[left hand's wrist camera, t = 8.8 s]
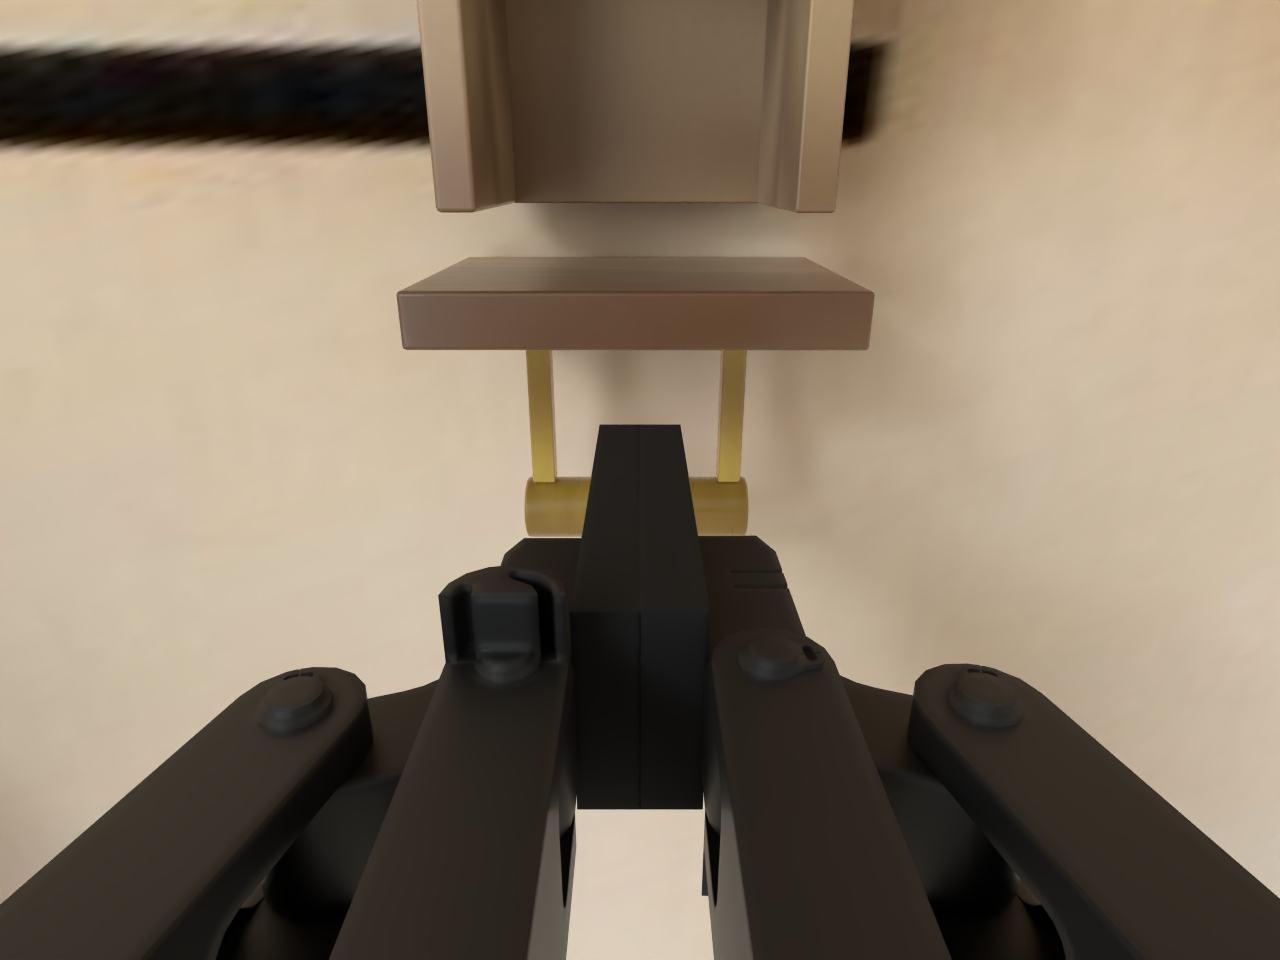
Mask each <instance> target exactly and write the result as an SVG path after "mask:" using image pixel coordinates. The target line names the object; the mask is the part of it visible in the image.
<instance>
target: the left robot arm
mask: <svg viewBox="0 0 1280 960" xmlns="http://www.w3.org/2000/svg"><path fill="white" fill-rule="evenodd" d="M438 596H439V605H440V614H441V623H442V632H443V641H444V650H445V659H446V663H445V666H444V668H443V671H442V674H441V676H440V679H438V680H436V681H434V682H431V683H429V684H427V685H425V686H421V687H418V688H414V689H411V690H407V691H403V692H398V693H393V694H389V695H384V696H379V697H374V698H369V699H367V693H366V687H365V684H364V683H363V682H362V681H361V680H360V679H359V678H358V677H357V676H356V675H355V674H354V673H351V672H348V671H345V670H342V669H339V668H326V667H311V668H304V669H300V670H298V669H297V670H293V671H289V672H285V673H283V674H281V675H278V676H276V677H273V678H271V679H268V680H266V681H263V682H261V683H259V684H258V685H256V686H255V687H253V688H252V689H250V690H249V691H247V692H246V693H244V694H243V695H241V696H240V697H238V698H237V699H236V700H235V701H234V702H233V703H232V704H230V705H229V706H228V707H227V708H226V709H225V710H224V711H222V712H221V713H220V714H219V715H218V716H217V717H216V718H214V719H213V720H212V721H211V722H210V723H209V724H207V725H206V726H205V727H204V728H203V729H202V730H201V731H199V732H198V733H197V734H196V735H195V736H194V737H193V738H191V739H190V740H189V741H188V742H187V743H186V744H184V745H183V746H182V747H181V748H180V749H179V750H178V751H176V752H175V753H174V754H173V755H172V756H171V757H170V758H168V759H167V760H166V761H165V762H164V763H163V764H161V765H160V766H159V767H158V768H157V769H156V770H155V771H153V772H152V773H151V774H150V775H149V776H148V777H147V778H145V779H144V780H143V781H142V782H141V783H140V784H138V785H137V786H136V787H135V788H134V789H133V790H132V791H130V792H129V793H128V794H127V795H126V796H125V797H124V798H122V799H121V800H120V801H119V802H118V803H117V804H116V805H114V806H113V807H112V808H111V809H110V810H109V811H107V812H106V813H105V814H104V815H103V816H102V817H101V818H99V819H98V820H97V821H96V822H95V823H94V824H93V825H91V826H90V827H89V828H88V829H87V830H86V831H84V832H83V833H82V834H81V835H80V836H79V837H78V838H76V839H75V840H74V841H73V842H72V843H71V844H70V845H68V846H67V847H66V848H65V849H64V850H63V851H61V852H60V853H59V854H58V855H57V856H56V857H55V858H53V859H52V860H51V861H50V862H49V863H48V864H47V865H45V866H44V867H43V868H42V869H41V870H40V871H38V872H37V873H36V874H35V875H34V876H33V877H32V878H30V879H29V880H28V881H27V882H26V883H25V884H24V885H22V886H21V887H20V888H19V889H18V890H17V891H16V892H14V893H13V894H12V895H11V896H10V897H9V898H7V899H6V900H5V901H4V902H3V903H2V904H1V905H0V960H566V953H567V942H568V931H569V920H570V909H571V898H572V887H573V876H574V865H575V854H576V829H575V806H576V796H577V809H703V792H704V802H705V829H704V853H703V878H702V896H708V897H709V908H710V919H711V930H712V941H713V951H714V960H1280V898H1278V897H1277V896H1276V895H1275V894H1274V893H1273V892H1271V891H1270V890H1269V889H1268V888H1267V887H1266V886H1264V885H1263V884H1262V883H1261V882H1260V881H1259V880H1257V879H1256V878H1255V877H1254V876H1253V875H1252V874H1251V873H1249V872H1248V871H1247V870H1246V869H1245V868H1244V867H1242V866H1241V865H1240V864H1239V863H1238V862H1237V861H1235V860H1234V859H1233V858H1232V857H1231V856H1230V855H1229V854H1227V853H1226V852H1225V851H1224V850H1223V849H1222V848H1220V847H1219V846H1218V845H1217V844H1216V843H1215V842H1213V841H1212V840H1211V839H1210V838H1209V837H1208V836H1206V835H1205V834H1204V833H1203V832H1202V831H1201V830H1200V829H1198V828H1197V827H1196V826H1195V825H1194V824H1193V823H1191V822H1190V821H1189V820H1188V819H1187V818H1186V817H1184V816H1183V815H1182V814H1181V813H1180V812H1179V811H1178V810H1176V809H1175V808H1174V807H1173V806H1172V805H1171V804H1169V803H1168V802H1167V801H1166V800H1165V799H1164V798H1162V797H1161V796H1160V795H1159V794H1158V793H1157V792H1155V791H1154V790H1153V789H1152V788H1151V787H1150V786H1149V785H1147V784H1146V783H1145V782H1144V781H1143V780H1142V779H1140V778H1139V777H1138V776H1137V775H1136V774H1135V773H1133V772H1132V771H1131V770H1130V769H1129V768H1128V767H1127V766H1125V765H1124V764H1123V763H1122V762H1121V761H1120V760H1118V759H1117V758H1116V757H1115V756H1114V755H1113V754H1111V753H1110V752H1109V751H1108V750H1107V749H1106V748H1104V747H1103V746H1102V745H1101V744H1100V743H1099V742H1098V741H1096V740H1095V739H1094V738H1093V737H1092V736H1091V735H1089V734H1088V733H1087V732H1086V731H1085V730H1084V729H1082V728H1081V727H1080V726H1079V725H1078V724H1077V723H1076V722H1074V721H1073V720H1072V719H1071V718H1070V717H1069V716H1067V715H1066V714H1065V713H1064V712H1063V711H1062V710H1060V709H1059V708H1058V707H1057V706H1056V705H1055V704H1053V703H1052V702H1051V701H1050V700H1049V699H1048V698H1047V697H1045V696H1044V695H1043V694H1042V693H1041V692H1039V691H1038V690H1036V689H1035V688H1033V687H1031V686H1030V685H1028V684H1027V683H1025V682H1024V681H1022V680H1021V679H1019V678H1017V677H1014V676H1012V675H1009V674H1006V673H1004V672H1001V671H999V670H997V669H994V668H990V667H986V666H979V665H972V664H944V665H941V666H938V667H935V668H932V669H929V670H926V671H925V672H924V673H923V674H922V675H921V676H920V677H919V678H918V679H917V680H916V681H915V687H914V693H913V695H908V694H903V693H898V692H893V691H888V690H883V689H878V688H874V687H870V686H867V685H863V684H860V683H856V682H854V681H852V680H849V679H847V678H845V677H842V676H840V675H839V672H838V670H837V667H836V665H835V662H834V661H833V659H832V658H831V656H830V655H829V654H828V652H827V651H826V650H825V648H824V647H822V646H820V645H819V644H817V643H816V642H814V641H813V640H811V639H810V638H808V637H806V635H805V632H804V630H803V627H802V624H801V621H800V618H799V616H798V613H797V610H796V607H795V605H794V602H793V599H792V596H791V593H790V591H789V589H787V582H786V580H785V577H784V574H783V573H782V568H781V566H780V563H779V560H778V557H777V555H776V552H775V551H774V550H773V549H772V548H771V547H769V546H768V545H767V544H766V543H764V542H763V541H762V540H761V539H759V538H758V537H757V536H698V532H697V526H696V519H695V513H694V507H693V501H692V495H691V488H690V482H689V476H688V470H687V464H686V457H685V451H684V445H683V439H682V433H681V426H680V425H600V426H599V433H598V439H597V445H596V451H595V457H594V464H593V470H592V476H591V482H590V488H589V495H588V501H587V507H586V513H585V519H584V526H583V532H582V538H524V539H523V540H521V541H520V542H519V543H518V544H516V545H515V546H514V547H513V548H512V549H510V550H509V551H508V552H507V553H505V555H504V558H503V560H502V563H501V566H497V567H488V568H484V569H481V570H477V571H474V572H470V573H467V574H465V575H463V576H461V577H459V578H458V579H456V580H454V581H452V582H450V583H449V584H448V585H447V586H446V587H445V588H444V590H443V591H442V592H441V593H440V594H439V595H438Z"/></svg>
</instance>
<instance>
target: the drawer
mask: <svg viewBox="0 0 1280 960" xmlns="http://www.w3.org/2000/svg"><path fill="white" fill-rule="evenodd" d="M417 7H418V18H419V29H420V39H421V50H422V61H423V72H424V82H425V93H426V104H427V115H428V126H429V136H430V147H431V158H432V169H433V179H434V190H435V201H436V208H437V210H438V211H439V212H476V211H480V210H485V209H489V208H493V207H498V206H502V205H506V204H511V203H760V204H765V205H769V206H773V207H777V208H781V209H785V210H789V211H793V212H797V213H832V212H834V211H835V207H836V195H837V184H838V173H839V162H840V151H841V140H842V129H843V118H844V107H845V96H846V85H847V74H848V63H849V52H850V41H851V29H852V18H853V7H854V0H417ZM874 296H875V295H874V293H873V292H871V291H869V290H867V289H866V288H864V287H862V286H860V285H858V284H856V283H854V282H852V281H850V280H848V279H846V278H844V277H842V276H840V275H838V274H836V273H834V272H832V271H830V270H828V269H826V268H824V267H822V266H820V265H818V264H816V263H814V262H812V261H810V260H808V259H806V258H728V257H469V258H467V259H465V260H463V261H460V262H458V263H456V264H454V265H452V266H450V267H448V268H446V269H444V270H442V271H440V272H438V273H436V274H434V275H432V276H430V277H428V278H426V279H424V280H422V281H420V282H418V283H415V284H413V285H411V286H409V287H407V288H405V289H403V290H401V291H399V292H397V303H398V312H399V321H400V329H401V338H402V346H403V348H404V349H406V350H526V359H527V377H528V395H529V413H530V431H531V449H532V467H533V477H530V478H529V479H528V481H527V485H526V492H525V523H526V530H527V533H528V535H529V536H531V537H582V532H583V526H584V519H585V513H586V507H587V501H588V495H589V488H590V482H591V477H557V457H556V433H555V410H554V386H553V363H552V350H721V365H720V390H719V415H718V439H717V464H716V475H717V477H689V482H690V488H691V495H692V501H693V507H694V513H695V519H696V526H697V532H698V536H744V535H745V533H746V530H747V524H748V491H747V484H746V481H745V479H744V478H743V477H740V467H741V448H742V429H743V411H744V392H745V373H746V354H747V350H866V349H868V347H869V341H870V332H871V323H872V314H873V305H874Z"/></svg>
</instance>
